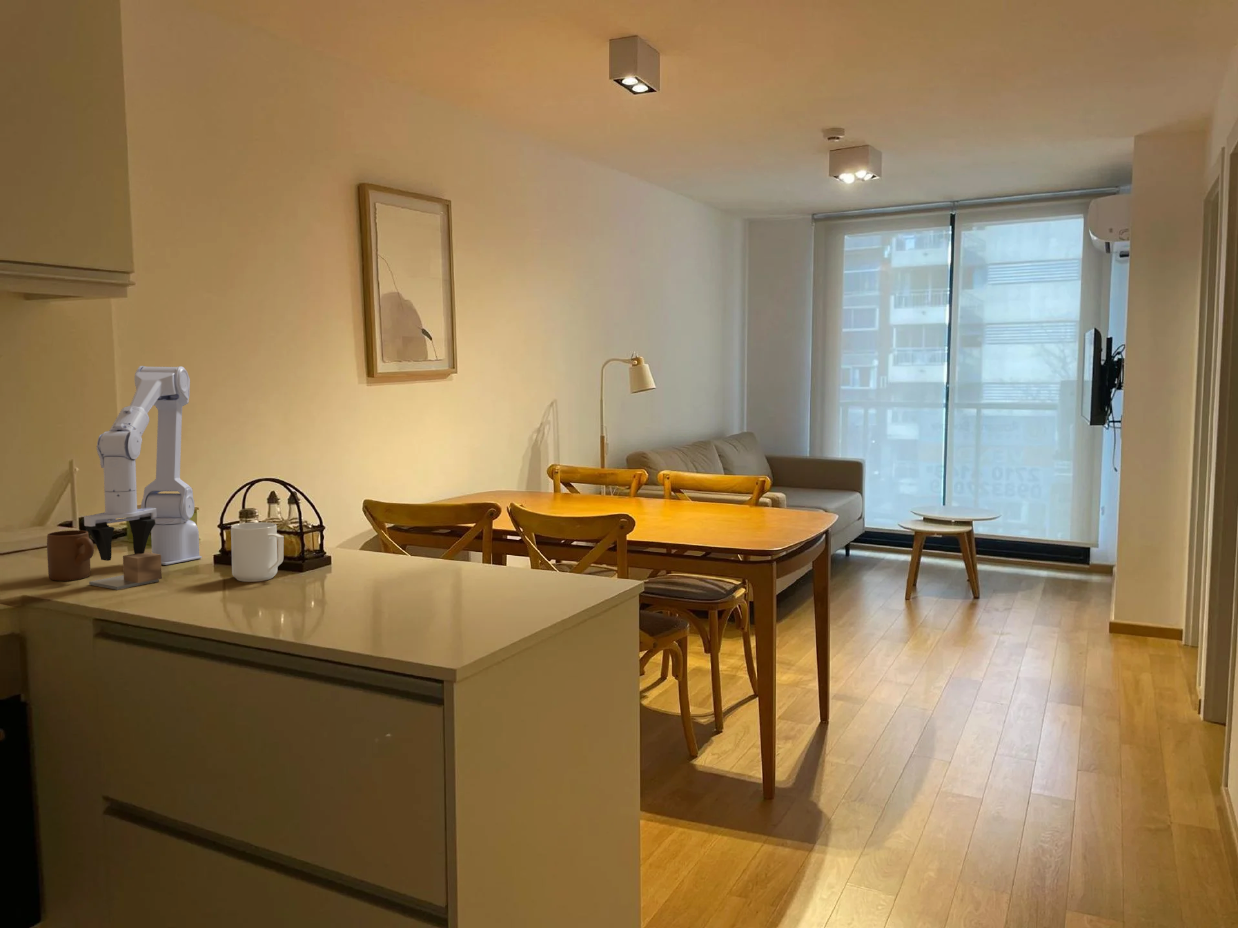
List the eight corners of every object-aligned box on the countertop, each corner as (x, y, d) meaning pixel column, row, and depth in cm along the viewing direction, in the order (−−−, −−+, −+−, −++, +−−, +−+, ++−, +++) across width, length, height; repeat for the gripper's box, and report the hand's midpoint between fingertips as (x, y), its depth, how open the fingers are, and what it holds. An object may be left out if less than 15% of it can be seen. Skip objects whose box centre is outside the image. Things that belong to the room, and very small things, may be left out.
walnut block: (147, 575, 192) (146, 551, 192) (161, 578, 190) (160, 554, 189) (123, 579, 188) (122, 555, 188) (138, 583, 186) (137, 558, 185)
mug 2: (222, 579, 192) (221, 526, 191) (255, 571, 200) (254, 521, 199) (266, 585, 187) (265, 531, 186) (298, 577, 195) (297, 525, 194)
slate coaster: (131, 576, 194) (131, 573, 194) (158, 581, 190) (158, 578, 190) (89, 584, 186) (89, 581, 186) (117, 589, 182) (117, 586, 182)
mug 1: (111, 578, 192) (109, 534, 191) (74, 585, 185) (72, 539, 184) (77, 572, 198) (75, 528, 197) (40, 578, 191) (38, 533, 190)
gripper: (139, 485, 195) (141, 549, 196) (73, 492, 182) (75, 561, 183) (162, 487, 192) (164, 552, 193) (96, 495, 179) (99, 564, 180)
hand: (122, 557), depth 188 cm, fingers open, 7 cm apart
